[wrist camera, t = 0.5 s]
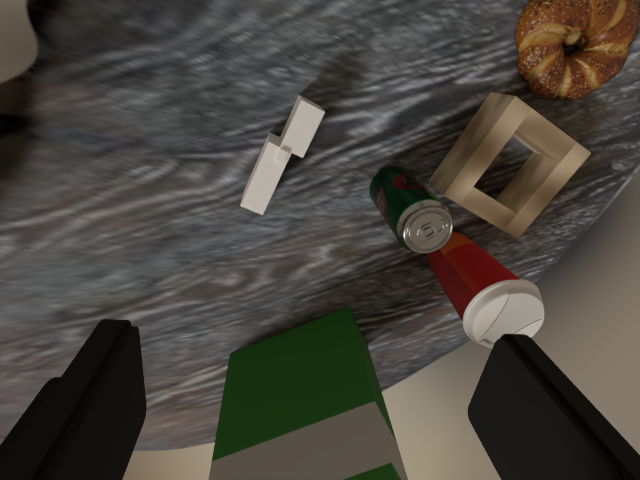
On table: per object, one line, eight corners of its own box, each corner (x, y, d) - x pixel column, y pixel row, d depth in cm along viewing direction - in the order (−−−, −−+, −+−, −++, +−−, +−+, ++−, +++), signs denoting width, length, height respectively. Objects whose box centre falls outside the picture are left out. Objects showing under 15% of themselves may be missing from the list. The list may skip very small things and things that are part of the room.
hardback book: (255, 387, 54) (238, 607, 32) (229, 354, 50) (192, 573, 29) (367, 344, 52) (427, 545, 31) (348, 306, 49) (402, 502, 27)
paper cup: (448, 286, 49) (505, 365, 36) (405, 259, 46) (452, 334, 34) (490, 242, 46) (568, 310, 34) (448, 211, 44) (515, 272, 31)
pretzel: (483, 63, 37) (502, 64, 34) (558, -54, 33) (588, -67, 30) (565, 120, 40) (590, 125, 37) (642, 19, 37) (677, 15, 33)
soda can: (361, 178, 41) (389, 221, 30) (402, 156, 40) (446, 192, 29) (379, 214, 43) (412, 266, 32) (418, 194, 42) (465, 240, 32)
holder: (490, 92, 38) (515, 96, 34) (561, 143, 41) (591, 153, 37) (427, 182, 42) (443, 195, 38) (496, 223, 45) (517, 239, 41)
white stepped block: (251, 220, 42) (247, 243, 37) (195, 129, 37) (182, 140, 32) (370, 164, 41) (383, 179, 36) (328, 61, 36) (337, 61, 31)
